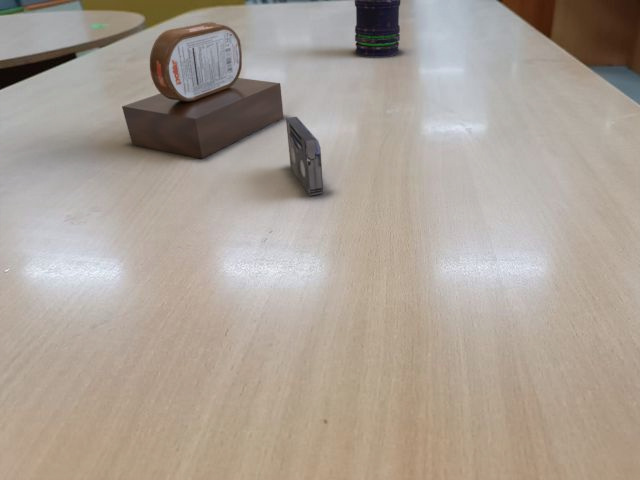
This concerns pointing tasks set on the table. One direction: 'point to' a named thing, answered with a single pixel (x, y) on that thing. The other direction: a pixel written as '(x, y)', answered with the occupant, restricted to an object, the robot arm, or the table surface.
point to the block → (204, 118)
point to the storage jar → (377, 28)
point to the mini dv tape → (305, 156)
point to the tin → (195, 61)
